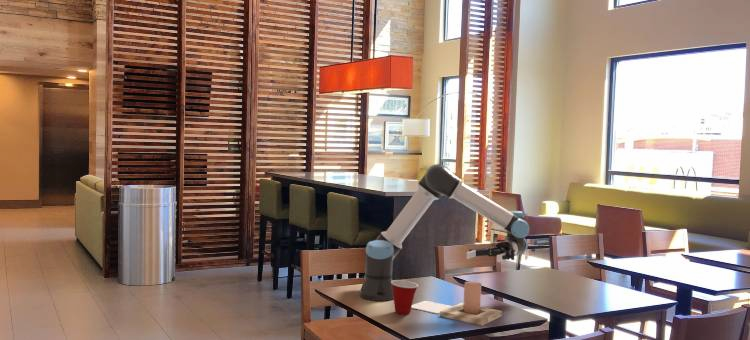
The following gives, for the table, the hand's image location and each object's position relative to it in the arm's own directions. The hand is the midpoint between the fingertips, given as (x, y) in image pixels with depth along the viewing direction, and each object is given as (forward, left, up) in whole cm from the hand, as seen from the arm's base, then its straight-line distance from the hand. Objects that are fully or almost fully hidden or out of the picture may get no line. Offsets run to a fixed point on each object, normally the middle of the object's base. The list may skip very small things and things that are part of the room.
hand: (482, 257), depth 259 cm
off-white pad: (-17, -9, -22) cm, 29 cm away
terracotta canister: (+1, -9, -22) cm, 24 cm away
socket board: (+1, -9, -22) cm, 24 cm away
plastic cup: (-21, -24, -22) cm, 39 cm away
